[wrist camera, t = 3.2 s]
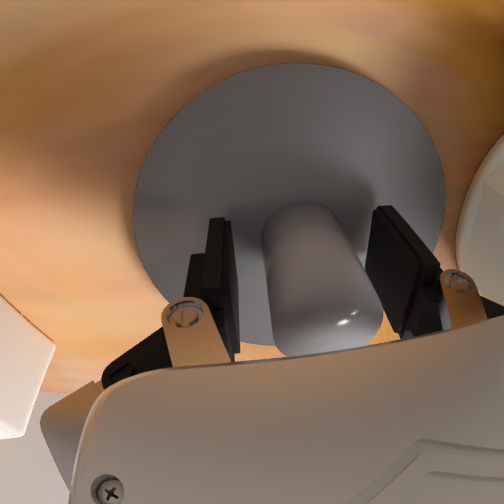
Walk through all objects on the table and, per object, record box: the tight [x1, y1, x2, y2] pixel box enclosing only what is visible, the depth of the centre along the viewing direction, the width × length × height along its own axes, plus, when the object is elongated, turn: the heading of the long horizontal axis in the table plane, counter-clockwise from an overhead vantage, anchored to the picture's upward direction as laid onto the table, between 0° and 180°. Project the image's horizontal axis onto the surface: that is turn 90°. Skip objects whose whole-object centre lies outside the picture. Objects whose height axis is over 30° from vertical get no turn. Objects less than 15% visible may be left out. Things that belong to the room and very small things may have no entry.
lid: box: [133, 63, 445, 357], centre depth 11 cm, size 13×13×6 cm
